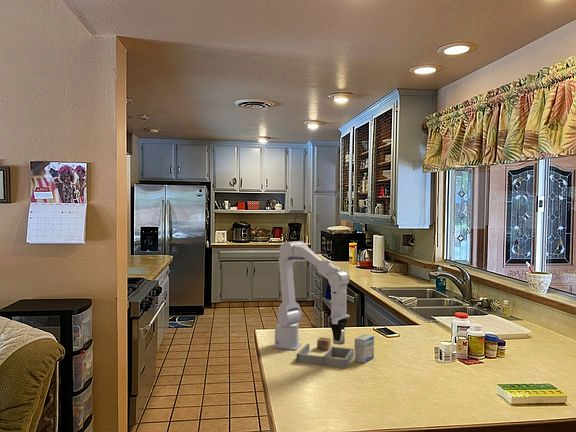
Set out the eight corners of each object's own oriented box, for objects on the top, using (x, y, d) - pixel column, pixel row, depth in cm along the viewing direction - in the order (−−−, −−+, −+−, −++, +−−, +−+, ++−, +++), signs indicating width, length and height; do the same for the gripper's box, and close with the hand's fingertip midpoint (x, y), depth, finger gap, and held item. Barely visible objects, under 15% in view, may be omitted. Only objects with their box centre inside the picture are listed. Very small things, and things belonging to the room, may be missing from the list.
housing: (296, 362, 171) (296, 354, 171) (307, 351, 184) (307, 343, 184) (346, 368, 165) (346, 360, 165) (353, 356, 178) (353, 348, 178)
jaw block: (317, 349, 186) (317, 340, 186) (319, 346, 190) (320, 337, 190) (327, 351, 185) (327, 341, 185) (330, 347, 189) (330, 338, 189)
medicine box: (364, 363, 170) (364, 340, 170) (354, 360, 173) (354, 338, 173) (374, 358, 176) (374, 335, 176) (363, 355, 179) (364, 333, 179)
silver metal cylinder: (331, 343, 171) (331, 330, 171) (334, 340, 176) (334, 327, 176) (343, 345, 170) (343, 331, 170) (345, 341, 174) (345, 328, 174)
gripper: (345, 307, 164) (345, 345, 165) (352, 300, 178) (352, 334, 178) (326, 306, 167) (326, 343, 167) (335, 298, 180) (334, 332, 181)
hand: (338, 338), depth 173 cm, fingers closed on silver metal cylinder, 4 cm apart
